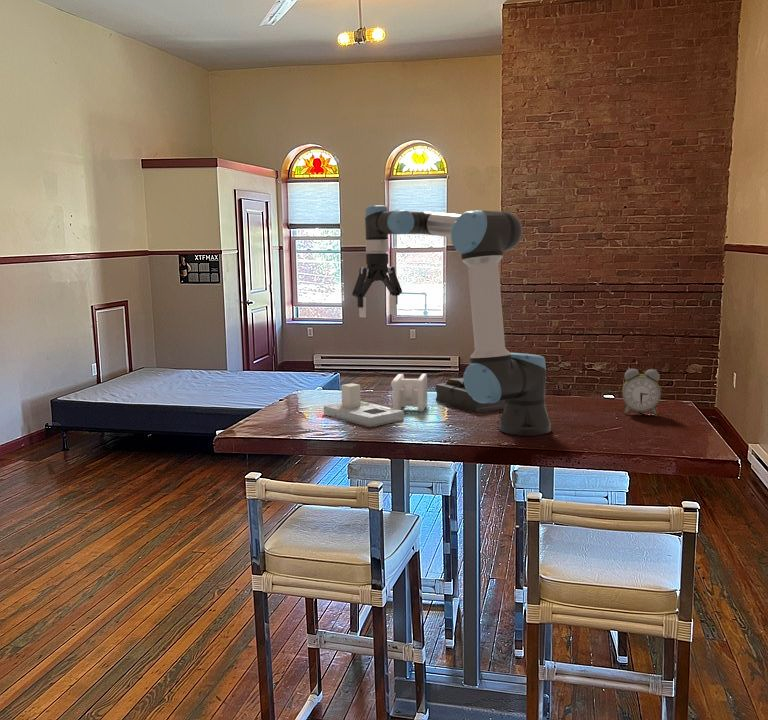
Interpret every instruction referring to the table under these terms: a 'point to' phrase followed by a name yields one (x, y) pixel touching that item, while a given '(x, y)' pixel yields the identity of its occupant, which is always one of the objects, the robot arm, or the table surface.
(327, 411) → the panel
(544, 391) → the robot arm
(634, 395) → the alarm clock
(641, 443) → the table surface
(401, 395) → the cable organizer
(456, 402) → the dark grey tray
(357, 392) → the plug
